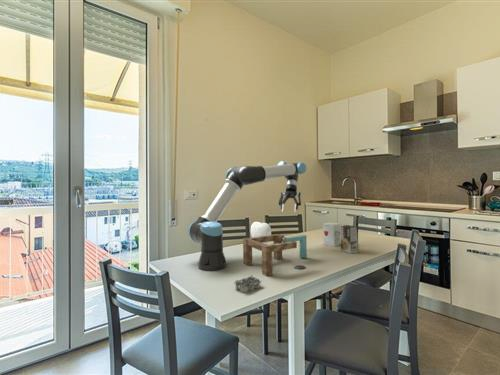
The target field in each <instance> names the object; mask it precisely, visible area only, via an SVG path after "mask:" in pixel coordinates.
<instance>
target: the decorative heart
mask: <svg viewBox="0 0 500 375" xmlns="http://www.w3.org/2000/svg"><path fill="white" fill-rule="evenodd" d="M250 235H251V238H254V237H261V236H269V235H272V228H271V225H270V224H268V223H267V222H259V221H254V222H252V224H251V226H250ZM267 243H268V242H264V243H263V244H266V245H268V244H267Z"/></svg>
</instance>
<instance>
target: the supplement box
mask: <svg viewBox="0 0 500 375" xmlns="http://www.w3.org/2000/svg"><path fill="white" fill-rule="evenodd" d="M341 226H342V224H341V223H338V222H325V223H323V224H322V230H323V231H322V232H323V235H322V236H323V237H322V238H323V240H322V241H323V245H324V246H330V247H337V246H341Z"/></svg>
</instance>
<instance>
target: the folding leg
mask: <svg viewBox="0 0 500 375" xmlns="http://www.w3.org/2000/svg"><path fill="white" fill-rule="evenodd" d="M291 241H295V242H299V258H301V259H303V258H307V256H308V252H307V251H308V250H307V244H308V243H307V235H305V234H301V235H300V234H299V235H297V236H290V237H289V236H287V237H286V236H284V237H283V242H282V243H284V242H291Z"/></svg>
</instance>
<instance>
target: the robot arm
mask: <svg viewBox="0 0 500 375" xmlns="http://www.w3.org/2000/svg"><path fill="white" fill-rule="evenodd" d="M306 171H307V165H306V164H305V163H304V162H295V163H293V162H291V163H287V162H286V161H285V160H281V161H279V162H278V163H277V165H270V166H262V165H257V166H256V165H255V166H253V165H244V166H243V165H241V166H233V167H231V168H229V169H228V170H227V171H226V174H225V179H224V185H223V186H222V188H221V189H220V190H219V192H218V193H217V195H216V197H215V198H214V200H213V201H212V202H211V204H210V205H209V207H208V208H207V209H206V211H205V212H204V214H203V215H199V217H198V218H197V220H195V221H193V222H191V223H190V225H189V227H188V229H187V232H188V233H187V234H188V237H189V239H191V240H192V241H193V242H195V243H197V244H200V250H201V251H200V252H201V253H200V256H199V259H198V263H197V266H198V269H199V270H202V271H216V270H222V269H224V268H226V267H227V259H226V256H225V253H224V243H223V242H224V240H223V237H224V234H223V232H224V230H223V225H222V224H221V223H220V222H218V220H219V219H220V217H221V216H222V215H223V212H224V211H225V210H226V208H227V206H228V205H229V204H230V202H231V201H232V199H233V197H234V196H235V194H236V193H237V192H240V191H241V190H242V188H244V186H248V185H253V184H256V183H261V182H264V181H265V180H268V179H275V178H280V177H281V178H282V177H284V178H285V179H286V186H285V192H280V197H279V200H278V205H279V206H280V210H281V214H282V215H284V210H285V204H286V202H287V201H288V200H289V199H293V201H294V211H293V212H294V215H296V214H297V210H298V209H299V206H302V200H301V196H302V194H301V193H302V192H300V191H298V180H299V175H303V174H305V173H306ZM297 191H298V192H297ZM296 196H297V197H298V200H297V198H296Z"/></svg>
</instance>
